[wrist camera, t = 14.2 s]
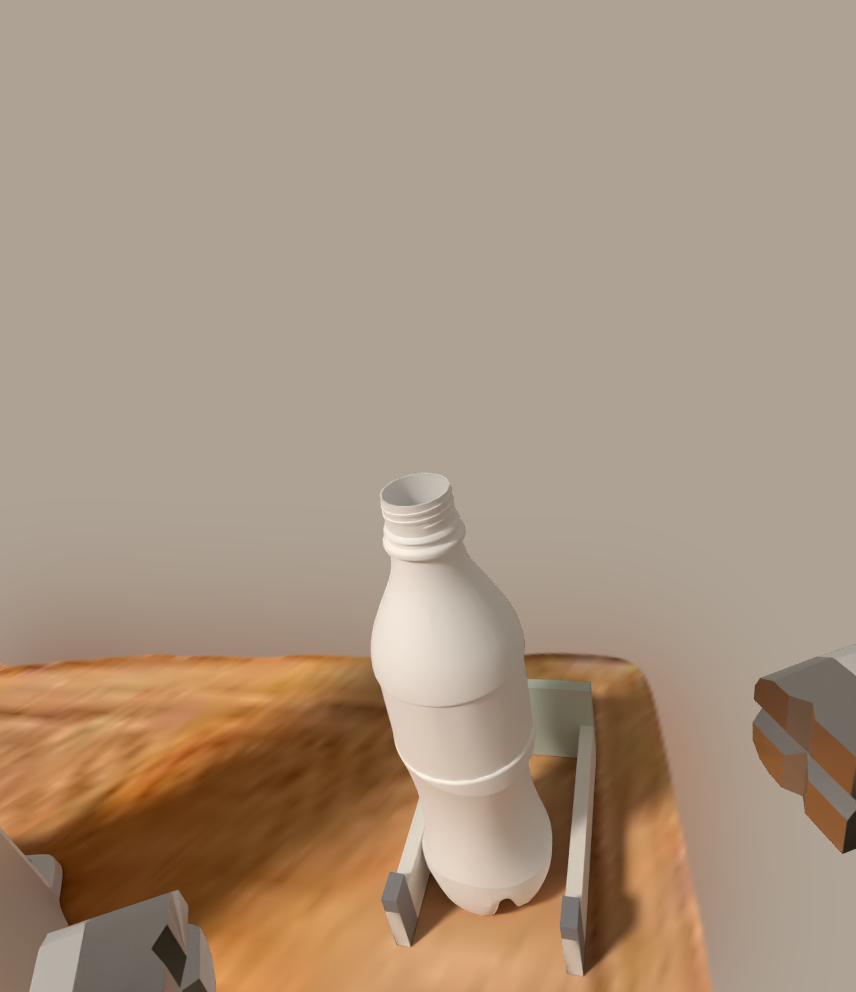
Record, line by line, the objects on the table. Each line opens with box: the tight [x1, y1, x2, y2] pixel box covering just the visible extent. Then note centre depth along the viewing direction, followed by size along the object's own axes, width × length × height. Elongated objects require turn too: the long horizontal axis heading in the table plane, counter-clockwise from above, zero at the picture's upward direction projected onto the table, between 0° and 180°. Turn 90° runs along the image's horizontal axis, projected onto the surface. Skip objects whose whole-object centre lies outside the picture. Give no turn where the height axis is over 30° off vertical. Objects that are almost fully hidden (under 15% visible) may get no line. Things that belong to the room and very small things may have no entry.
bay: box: [381, 679, 597, 976], centre depth 41 cm, size 10×14×6 cm
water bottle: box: [371, 473, 552, 916], centre depth 35 cm, size 7×7×25 cm
